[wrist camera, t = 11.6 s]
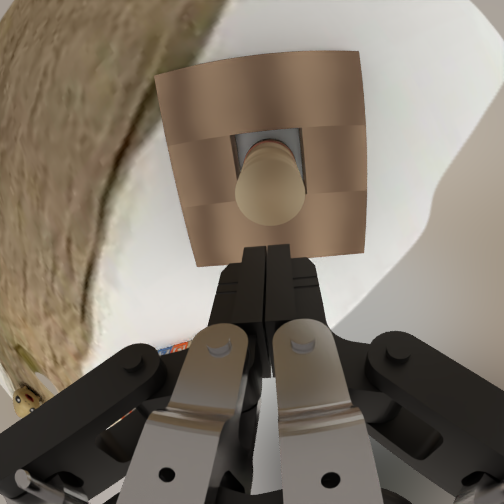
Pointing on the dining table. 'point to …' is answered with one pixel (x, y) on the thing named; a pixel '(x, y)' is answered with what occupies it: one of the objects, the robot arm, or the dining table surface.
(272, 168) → the peg
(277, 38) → the dining table surface
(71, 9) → the dining table surface
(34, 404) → the tan toy head
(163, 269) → the dining table surface
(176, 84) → the board
